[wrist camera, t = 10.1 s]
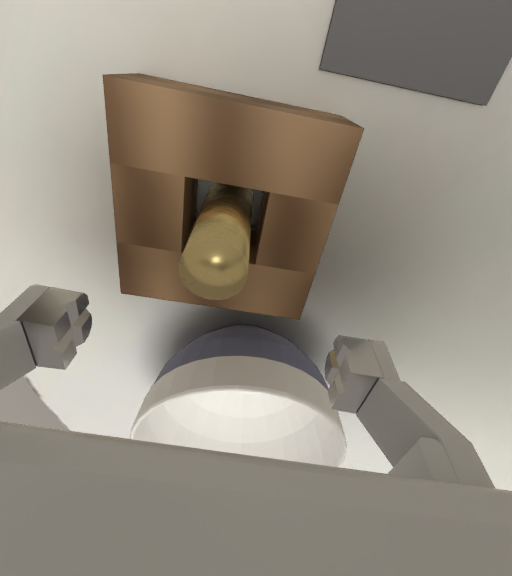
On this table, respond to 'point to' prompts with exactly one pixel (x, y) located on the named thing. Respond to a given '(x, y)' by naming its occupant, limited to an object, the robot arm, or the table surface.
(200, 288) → the brass peg
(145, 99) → the hole block
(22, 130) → the table surface
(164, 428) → the bowl
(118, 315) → the table surface
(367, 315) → the table surface
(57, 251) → the table surface
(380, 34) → the rubber mat
